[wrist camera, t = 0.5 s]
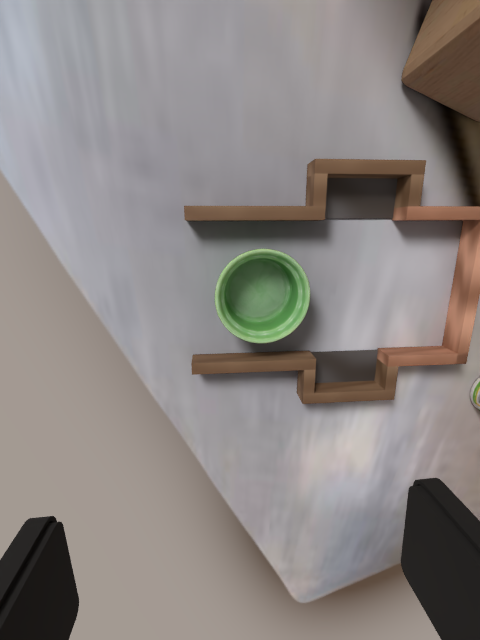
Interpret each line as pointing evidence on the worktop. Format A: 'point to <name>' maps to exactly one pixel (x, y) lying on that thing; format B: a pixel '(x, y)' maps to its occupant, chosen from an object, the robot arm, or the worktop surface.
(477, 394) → the supplement bottle
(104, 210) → the worktop surface
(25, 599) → the robot arm
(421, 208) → the box
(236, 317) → the ramekin
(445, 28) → the block
